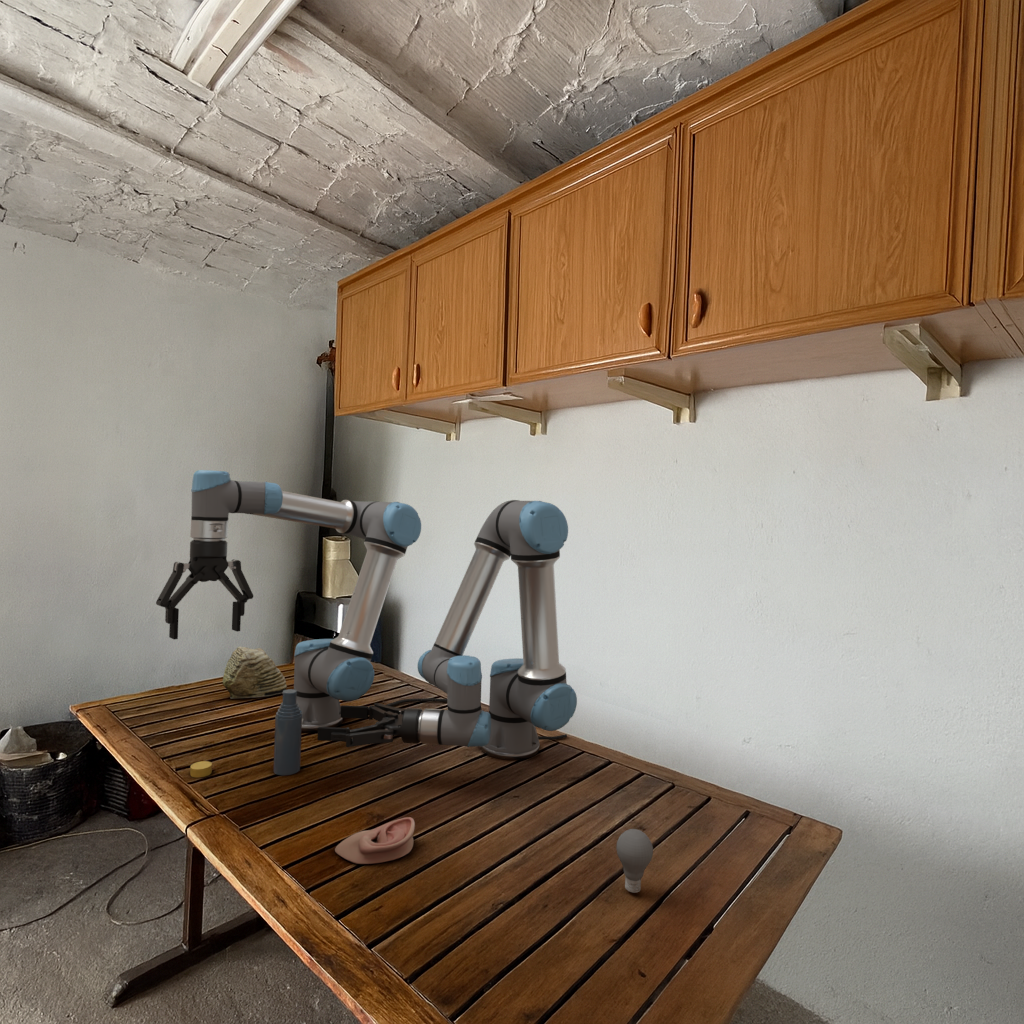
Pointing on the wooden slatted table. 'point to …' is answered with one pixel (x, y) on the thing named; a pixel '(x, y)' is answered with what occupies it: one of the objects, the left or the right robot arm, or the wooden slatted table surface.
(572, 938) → the wooden slatted table surface
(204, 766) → the cap
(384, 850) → the anatomical model
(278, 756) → the bottle
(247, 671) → the fossil
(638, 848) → the light bulb
